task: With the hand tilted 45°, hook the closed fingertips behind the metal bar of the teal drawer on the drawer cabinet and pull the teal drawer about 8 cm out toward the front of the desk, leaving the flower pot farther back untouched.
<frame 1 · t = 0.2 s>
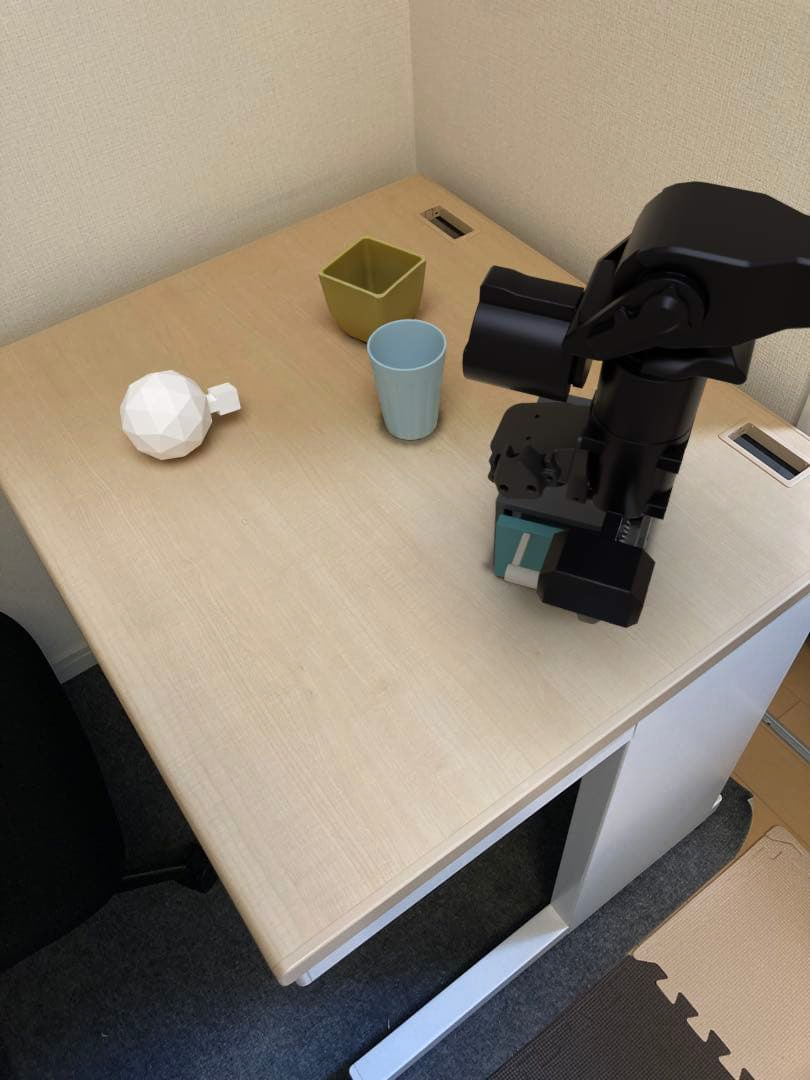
hand: (602, 569, 65), 14 cm above the table, tool pointing down, fingers open, 9 cm apart
flower pot: (378, 332, 106), on the table
cup: (411, 423, 96), on the table
drawer cabinet: (579, 523, 86), on the table
perfume bottle: (191, 444, 96), on the table
teal drawer: (571, 529, 80), point 5 cm above the table, slide at 0.5 cm
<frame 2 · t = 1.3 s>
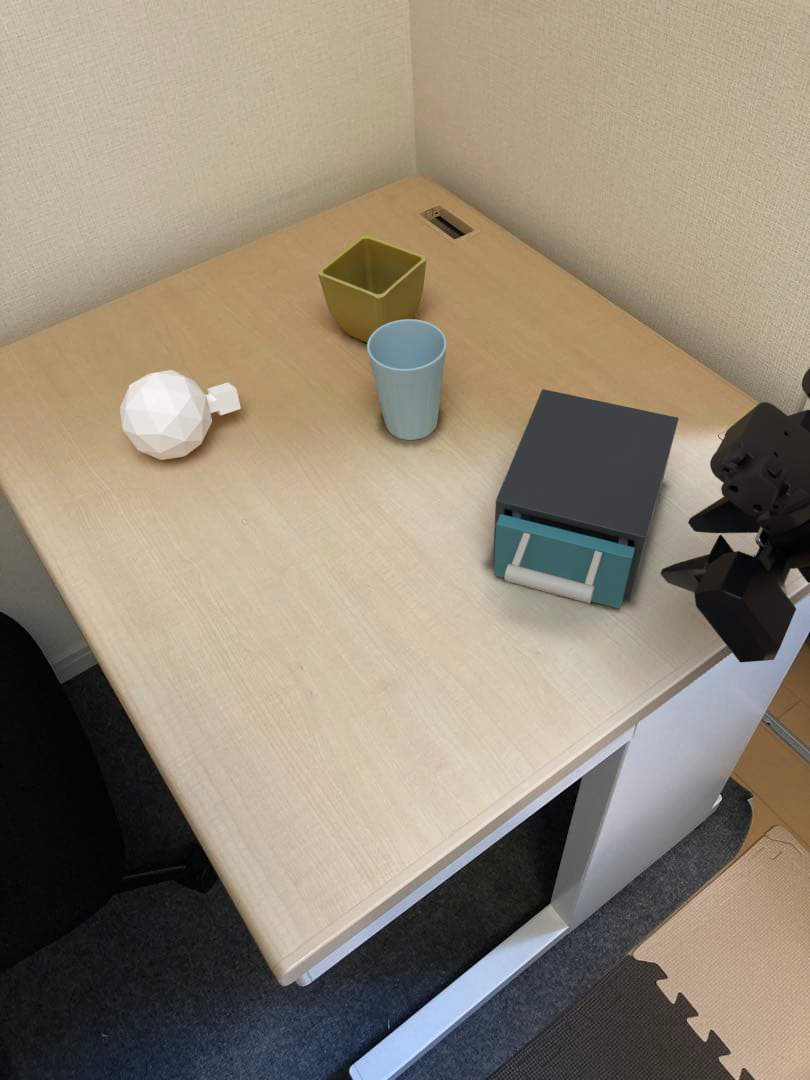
hand: (678, 550, 66), 14 cm above the table, tool tilted 45°, fingers open, 5 cm apart
nothing on the table moved.
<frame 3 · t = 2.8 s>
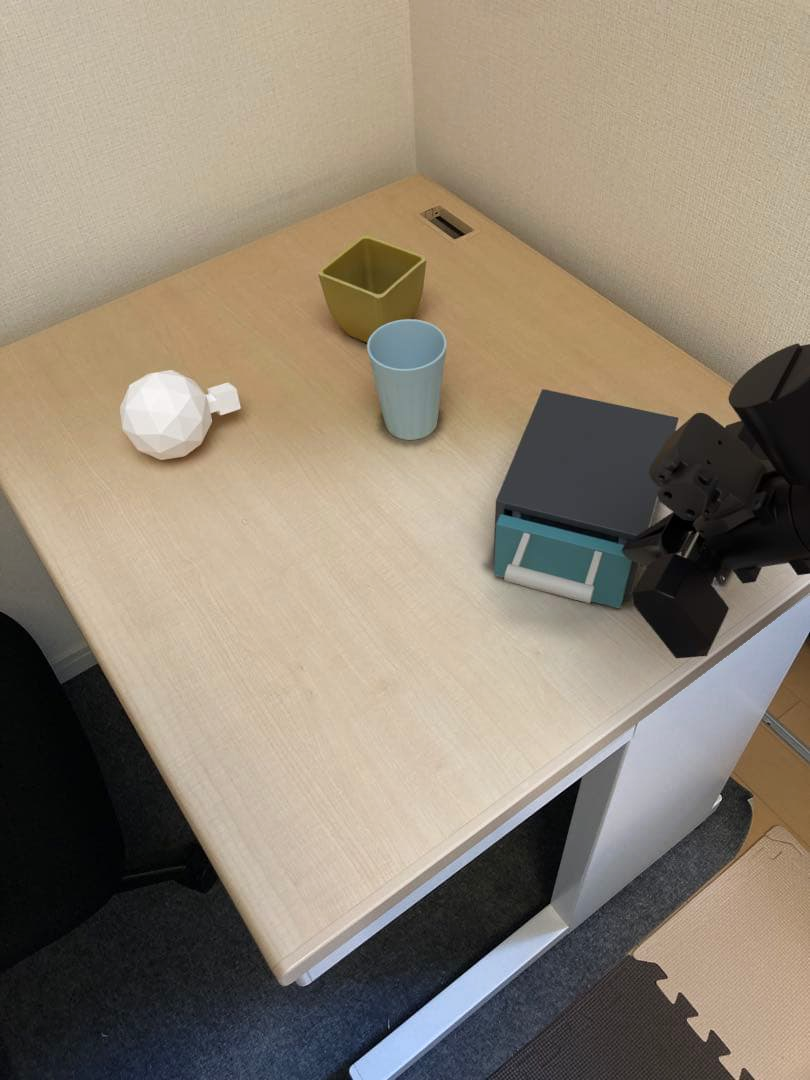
hand: (626, 551, 70), 11 cm above the table, tool tilted 45°, fingers closed
nothing on the table moved.
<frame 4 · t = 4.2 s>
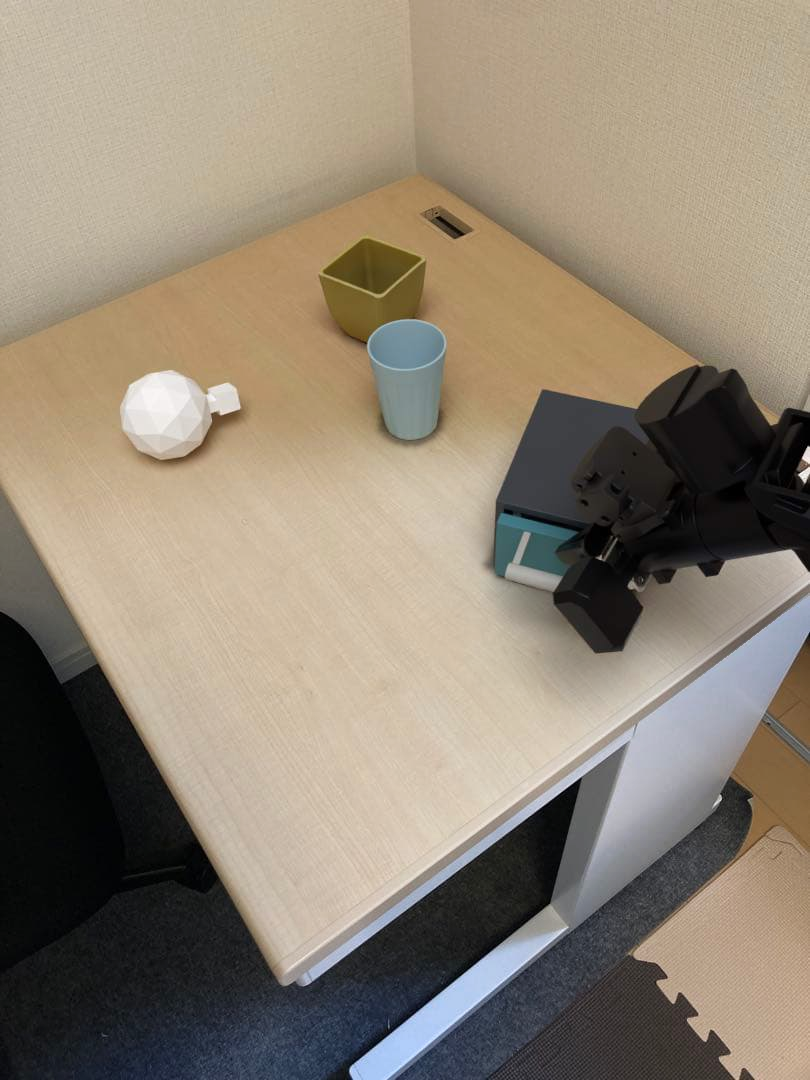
hand: (559, 554, 75), 7 cm above the table, tool tilted 45°, fingers closed
teal drawer: (572, 527, 80), point 5 cm above the table, slide at 0.3 cm, touching gripper
everything else where it was.
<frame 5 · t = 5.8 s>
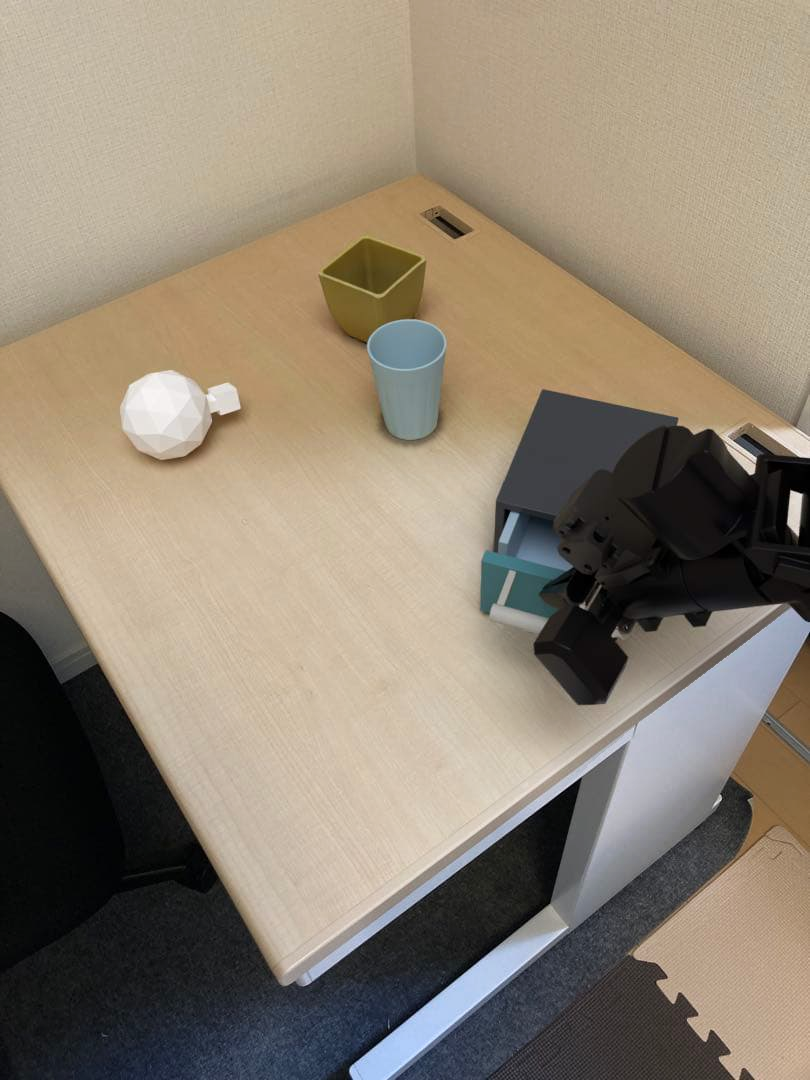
hand: (544, 594, 72), 7 cm above the table, tool tilted 45°, fingers closed
teal drawer: (560, 564, 77), point 5 cm above the table, slide at 4.6 cm, touching gripper
everything else where it was.
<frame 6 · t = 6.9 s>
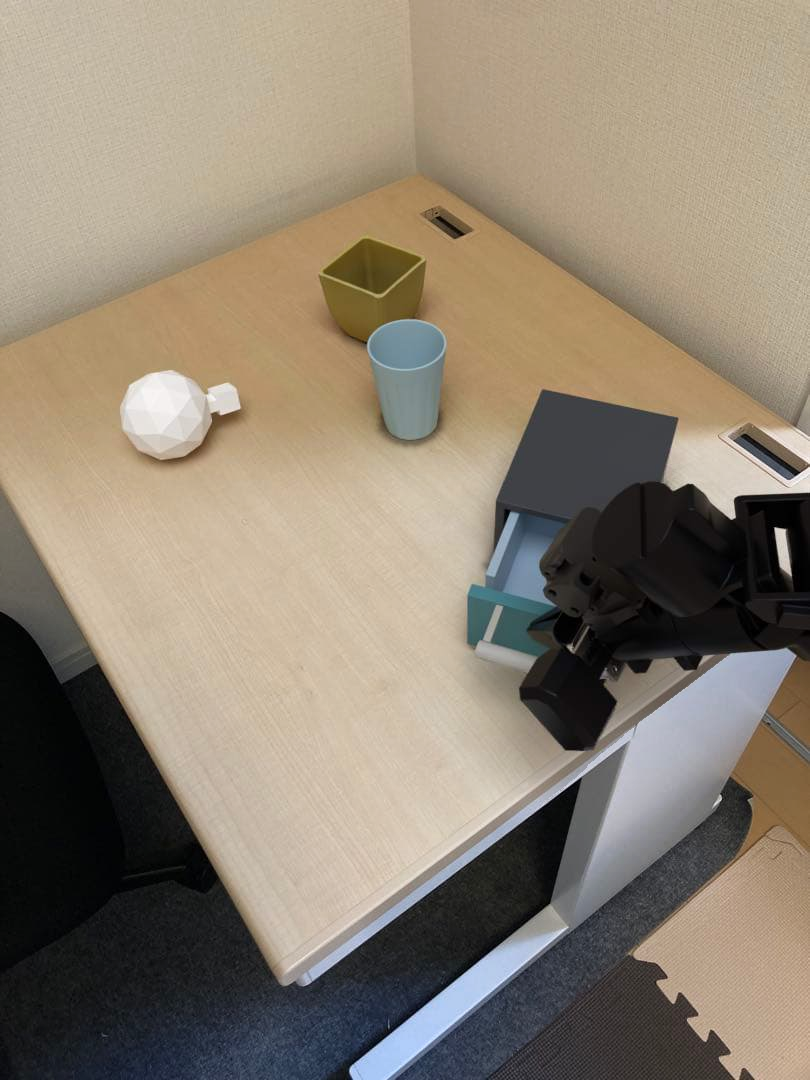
hand: (531, 631, 70), 7 cm above the table, tool tilted 45°, fingers closed
teal drawer: (548, 597, 75), point 5 cm above the table, slide at 8.2 cm, touching gripper
everything else where it was.
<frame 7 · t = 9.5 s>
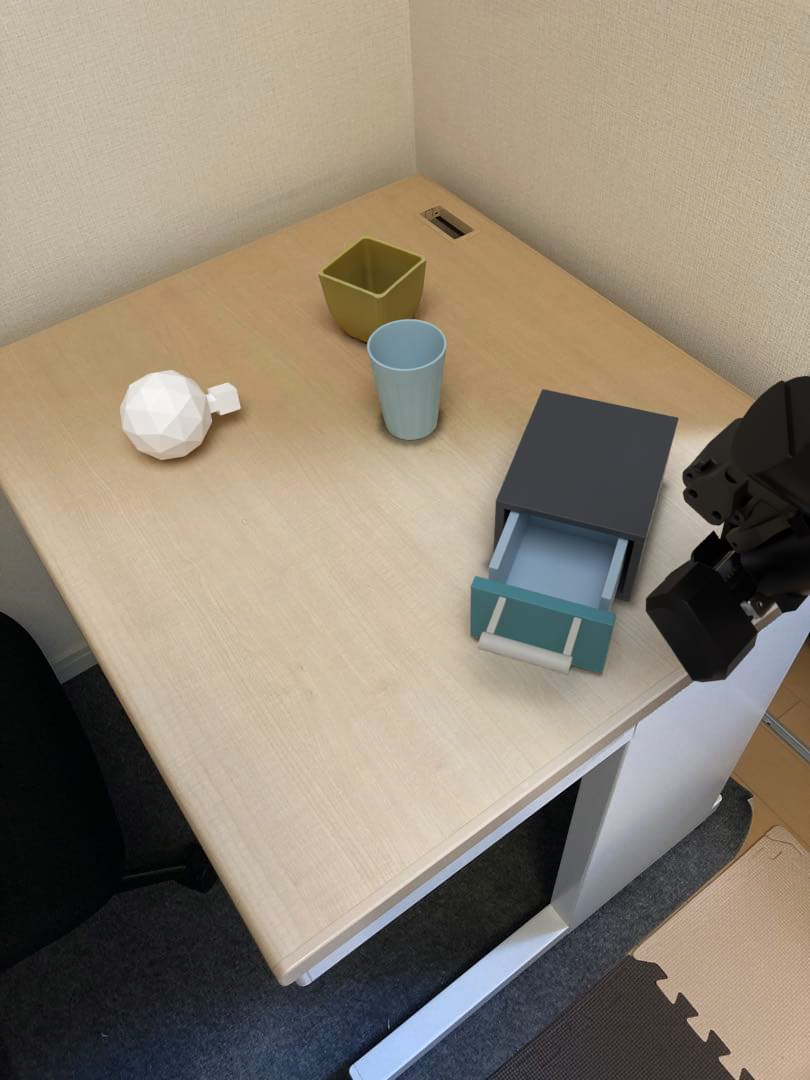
hand: (670, 581, 65), 14 cm above the table, tool tilted 35°, fingers closed
teal drawer: (551, 589, 76), point 5 cm above the table, slide at 7.3 cm
everything else where it was.
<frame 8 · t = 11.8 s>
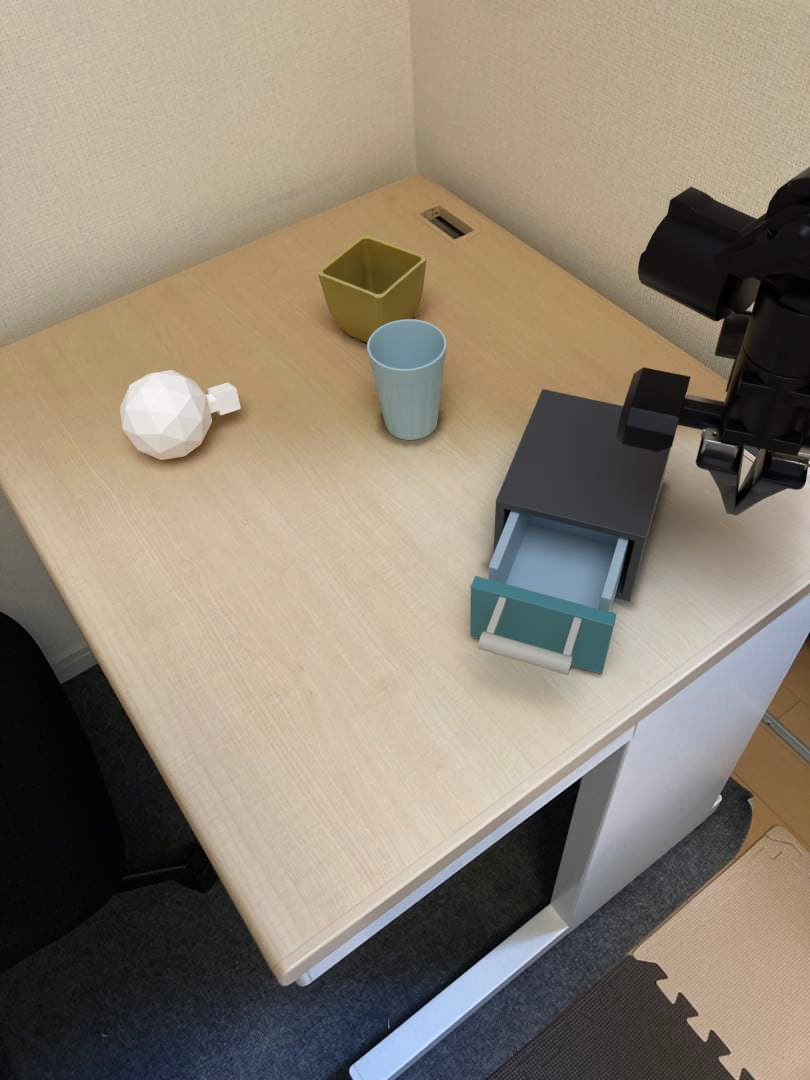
hand: (732, 510, 69), 13 cm above the table, tool pointing down, fingers closed
nothing on the table moved.
at the end: teal drawer slide at 7.3 cm; flower pot moved 0.2 cm from its start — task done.
